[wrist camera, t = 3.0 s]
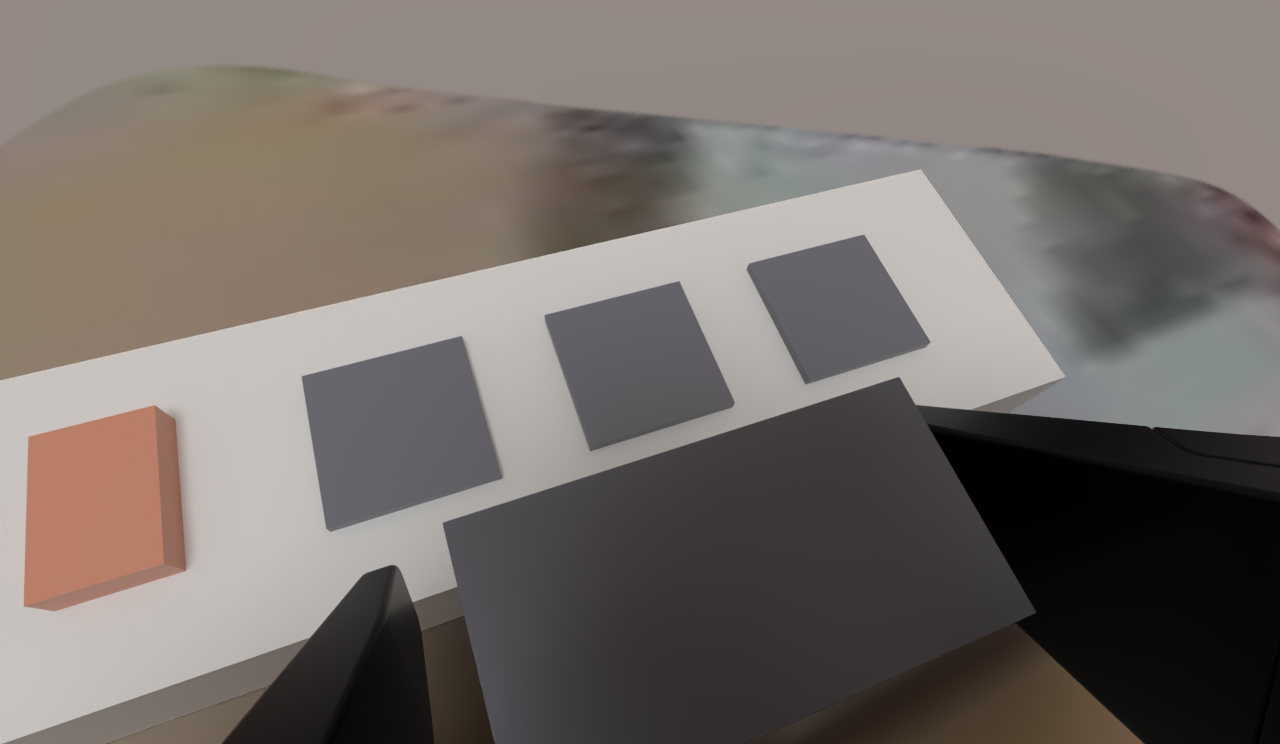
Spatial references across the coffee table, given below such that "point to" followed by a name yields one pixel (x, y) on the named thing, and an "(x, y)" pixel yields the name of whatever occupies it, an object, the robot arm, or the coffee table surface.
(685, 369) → the power strip
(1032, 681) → the coffee table surface
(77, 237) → the coffee table surface
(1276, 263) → the coffee table surface
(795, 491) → the brick
